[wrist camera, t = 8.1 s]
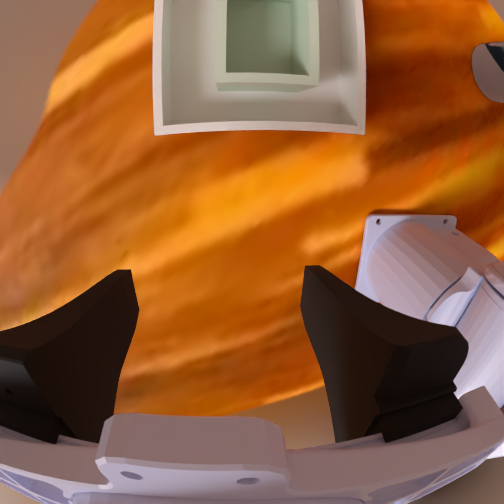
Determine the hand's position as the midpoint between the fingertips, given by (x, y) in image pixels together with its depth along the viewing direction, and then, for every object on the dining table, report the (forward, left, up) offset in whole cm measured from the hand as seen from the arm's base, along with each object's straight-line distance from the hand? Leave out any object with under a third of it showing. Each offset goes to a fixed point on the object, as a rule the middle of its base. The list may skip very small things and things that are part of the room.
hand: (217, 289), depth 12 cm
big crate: (-3, -12, -10) cm, 16 cm away
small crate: (-3, -12, -9) cm, 15 cm away
